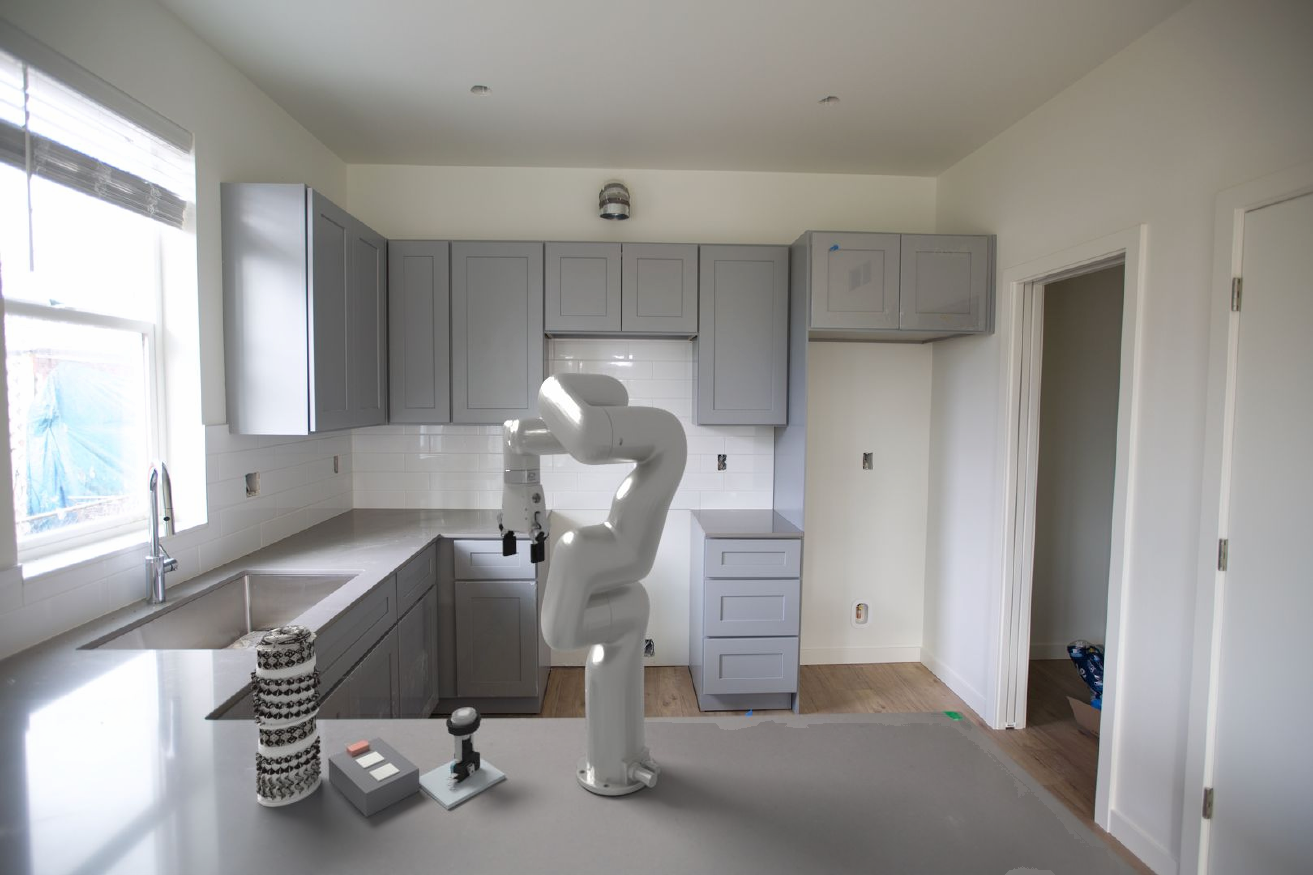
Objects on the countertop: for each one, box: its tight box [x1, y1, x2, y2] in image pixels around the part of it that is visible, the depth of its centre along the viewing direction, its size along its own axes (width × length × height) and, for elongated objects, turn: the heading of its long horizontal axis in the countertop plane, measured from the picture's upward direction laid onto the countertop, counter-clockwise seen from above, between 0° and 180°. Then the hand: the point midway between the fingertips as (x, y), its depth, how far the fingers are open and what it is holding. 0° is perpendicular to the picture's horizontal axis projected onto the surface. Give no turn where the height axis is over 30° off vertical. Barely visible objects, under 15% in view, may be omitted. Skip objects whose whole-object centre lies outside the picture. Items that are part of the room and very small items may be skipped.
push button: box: [445, 707, 482, 786], centre depth 93 cm, size 7×5×10 cm
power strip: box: [327, 736, 420, 818], centre depth 92 cm, size 14×8×4 cm, turn 49°
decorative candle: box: [250, 624, 322, 808], centre depth 91 cm, size 9×9×25 cm
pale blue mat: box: [419, 757, 506, 810], centre depth 93 cm, size 10×10×1 cm
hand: (523, 558), depth 123 cm, fingers open, 9 cm apart
